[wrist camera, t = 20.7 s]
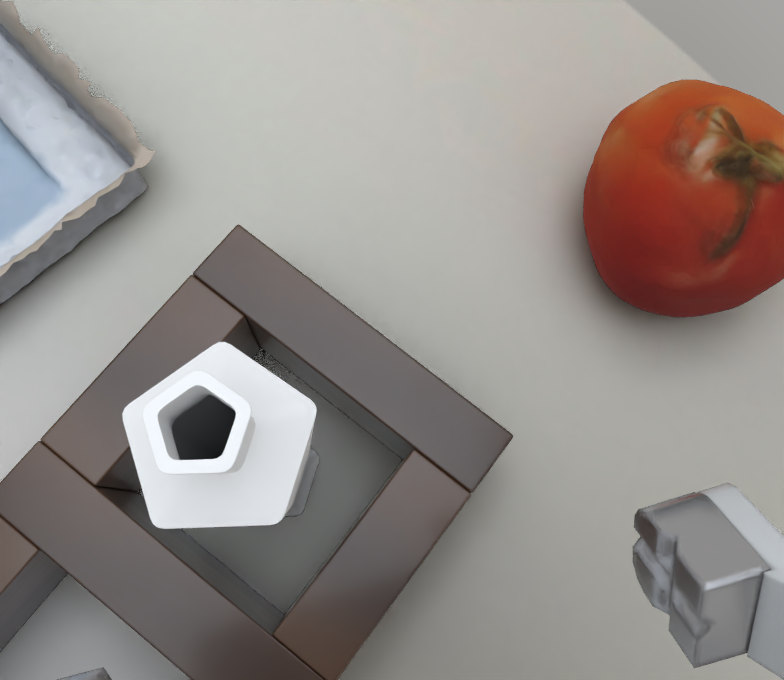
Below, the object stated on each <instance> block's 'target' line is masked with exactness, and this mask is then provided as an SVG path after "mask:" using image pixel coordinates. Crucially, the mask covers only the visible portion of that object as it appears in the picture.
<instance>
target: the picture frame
mask: <svg viewBox="0 0 784 680" xmlns="http://www.w3.org/2000/svg"><path fill="white" fill-rule="evenodd" d="M78 75H79V68H78V67H77V66H76V65H75V63H74V62H73V61H72V60H71V59H70V58H69V57H68V56H66V55H65V54H63V53H62V54H54V53H53V52H52V51H51V50H50V49H49V47H48V46H47V44H46V43H45V41H44V39H43V37H42V35H41V33H40V30H39V28H38V29H37V30H36V31H35V32H34V33H33V34H32V35H31V34H30V33H29V32H28V30H27V29H26V28H25V27H24V26H23V25H22V24H21V23H20V20H19V16H18V12H17V9H16V7H15V5H14V2H13V1H4V2H3V1H2V0H0V304H1V303H2V302H4V301H6V300H7V299H9V298H10V297H11V296H13V295H14V294H15V293H17V292H18V291H19V290H20V289H21V288H22V287H23V286H25V285H27V284H28V283H30V282H31V281H32V280H33V279H34V278H35V277H36V276H37V275H39V274H40V273H41V272H42V271H43V270H45V269H46V268H47V267H48V266H50V265H51V264H52V263H55V262H56V261H57V260H58V259H59V258H61V257H62V256H63V255H65V254H66V253H68V252H70V251H72V250H73V249H74V247H75V246H76V245H77V244H78V243H79V242H80V241H81V240H82V239H84V238H85V237H86V236H88V235H89V234H90V233H91V232H92V231H93V230H94V229H95V228H96V227H97V226H99V225H101V224H102V223H104V222H105V221H106V220H107V219H109V218H110V217H112V216H114V215H116V214H117V213H119V212H120V211H121V210H122V209H124V208H125V207H126V206H127V205H128V204H129V203H130V202H131V201H133V200H134V199H135V198H136V197H137V196H139V195H141V194H142V193H143V192H144V191H145V190H146V188H147V187H148V186H147V183H146V181H145V180H144V179H143V178H142V176H141V175H140V173H139V171H138V168H141V167H144V166H145V165H146V164H147V163H148V162H149V161H150V160H151V158H152V156H153V155H154V153H155V151H152V150H148V149H147V148H146V147H144V146H143V145H142V144H141V143H140V142H139V141H138V137H137V134H136V132H135V129H134V127H133V125H132V122H131V121H130V120H129V119H128V118H127V117H126V116H125V115H124V114H123V113H122V112H121V110H119V109H118V108H117V107H115V106H114V105H112V104H111V103H110V102H108V101H107V100H106V99H104V98H98V97H92V96H91V95H90V93H89V91H88V90H87V87H88V86H89V85H90V84H91V83H92V82H88V81H85V80H81V79H78Z"/></svg>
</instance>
